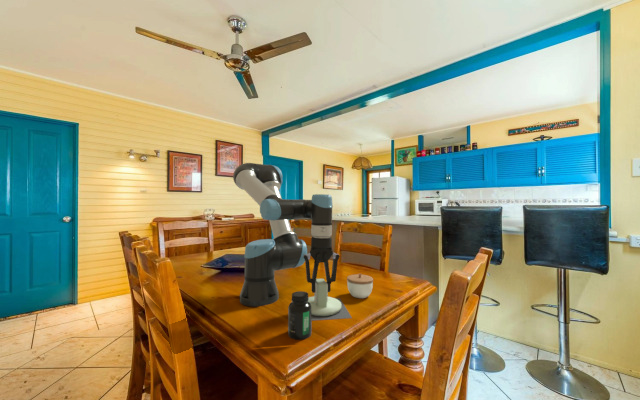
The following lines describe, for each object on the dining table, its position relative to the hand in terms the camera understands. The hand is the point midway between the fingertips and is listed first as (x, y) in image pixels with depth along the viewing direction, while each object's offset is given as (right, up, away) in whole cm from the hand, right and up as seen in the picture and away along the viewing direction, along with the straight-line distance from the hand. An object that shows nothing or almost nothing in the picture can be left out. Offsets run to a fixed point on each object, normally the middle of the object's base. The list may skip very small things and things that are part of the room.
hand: (320, 300), depth 94 cm
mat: (0, -3, 0) cm, 3 cm away
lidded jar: (+16, -4, +13) cm, 21 cm away
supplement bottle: (-6, -3, -18) cm, 20 cm away
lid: (0, -2, 0) cm, 2 cm away
